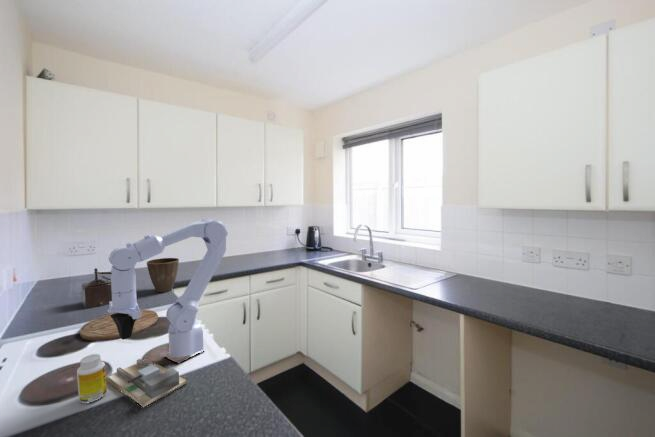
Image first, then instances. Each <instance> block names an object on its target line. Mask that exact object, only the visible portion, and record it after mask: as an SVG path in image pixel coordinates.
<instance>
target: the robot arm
mask: <svg viewBox="0 0 655 437" xmlns="http://www.w3.org/2000/svg"><path fill="white" fill-rule="evenodd" d="M227 236H228V230H227V228H226V226H225V224H224V223H223V222H222V221H220V220H217V219H216V220H215V219H210V218H203V219H201V220H198V221H197V220H196V221H194V222H192V223H188V224H187V225H185V226H181V227H179V228H178V229H174V230H173V231H171V232H169V233H166V234H163V235H161V236H158V235H155V234H153V235H150V234H147V235H144V236H143V238H142V239H139V240H137V241H135V242H132V243H131V242H128V243H127V242H126V246H118V247H116V248H114V249H113V250H112V251H110V253H109V257H108V260H109V261H108V262H109V263H110V265H111V269H110V272H111V273H112V274H110V279H111V280H110V282H111V289H112V301H111V302H109V304H108V305H109V306H108V307H109V308H108V309H107V313H108V314H112V315H111V318H112V319H113V321H114V322H115V324H116V326H117V329H118V332H119V335H120V338H119V339H121V340H127V339H129V338H131V337H132V336H133V335H132V330H133V326H134V323H135V321H136V319H137V318H140V317H142V314H141V310H142V309H140V307H139V304H138V301H137V299H138V298H137V277H136V271H135V269H136V267H135V266H136V265H137V263H141V262H143V261H146V260H148V259H151V258H153V257H155V256H158V255H160V254H162V253H163V252H164V250H165V249H166V247H169V246H171V245H173V244H177V243H179V242H181V241H184V240H186V239H189V238H192V237H193V238H201V239H202V241H204V243H205V246H206V249H207V251H206V253H205V254H204V256H203V258H202V260H201V261H200V263H199V265H198V267H197V268H196V269H195V272H194V273H193V276H192V277H191V279H190V281H189V283H188V285H187V286H186V288H185V290H184V292H183V293H182V294H181V295H180V296H179V297H177V298H176V299H175V301H174V303H173V304H171V305H170V306H169V307H168V308H167V310H166V314H165V316H166V317H165V318H167V321H169V322H170V323H169V326H168V330H167V332H168V349H169V350H168V351H169V352H168V353H170V355H171V356H173V357H182V356H187V355H191V354H193V353H195V352H198V351H201V350H202V351H204V350H205V351H206V349H205V348H204V330H203V327H202V325H201V323H199V322H197V321H196V318H197V313H198V311H199V302H200V300H201V298H202V296H203V294H204V292H205V290H206V289H207V287H208V285H209V283H210V282H211V280H212V278H213V275H214V274H215V272H216V270H217V268H218V266H219V265H220V263H221V261H222V259H223V257H224V256H225V254H226V251H227ZM113 313H116V314H113ZM202 351H201V352H202ZM205 351H204V352H205ZM202 353H203V352H202Z"/></svg>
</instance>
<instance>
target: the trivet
mask: <svg viewBox="0 0 655 437" xmlns="http://www.w3.org/2000/svg"><path fill="white" fill-rule="evenodd" d="M140 310H141V314H142V317H140V318H137V319H136V321H135V323H134V326H133V330H132V332H136V331H139V330H141V329H144V328H147V327H149V326H150V325H152V324H154V323H155V322H156V321H157V320H158V321H159V314H158V312H156V311H155V310H151V309H140ZM112 314H116V313H115V312H113V313H108V314H106V315H102V316H99V317H97V318H94V319H93V320H90V321H88V322H86V323H84V324H83V325H82V327H80V329H79V336H80V337H81V338H82V340H85V341H92V342H93V341H94V342H101V341H102V342H104V341H112V340H118V339H121V338H120V335H119V332H118V329H117V326H116V324H115V322H114V321H113V319H112V318H111V315H112ZM158 321H157V322H158Z"/></svg>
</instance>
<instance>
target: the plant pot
mask: <svg viewBox="0 0 655 437" xmlns="http://www.w3.org/2000/svg"><path fill="white" fill-rule="evenodd" d="M179 262H180V260H179V258H178V257H164V258H163V257H162V258H155V259H151V260H148V261H146V267H147V272H148V274H149V278H150V280H151V283H152V284H153V287H154V289H155V291H156V293H168V292H171V291H172V290H173V289H174V286H175V282H176V279H177V275H178V268H179Z"/></svg>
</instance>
